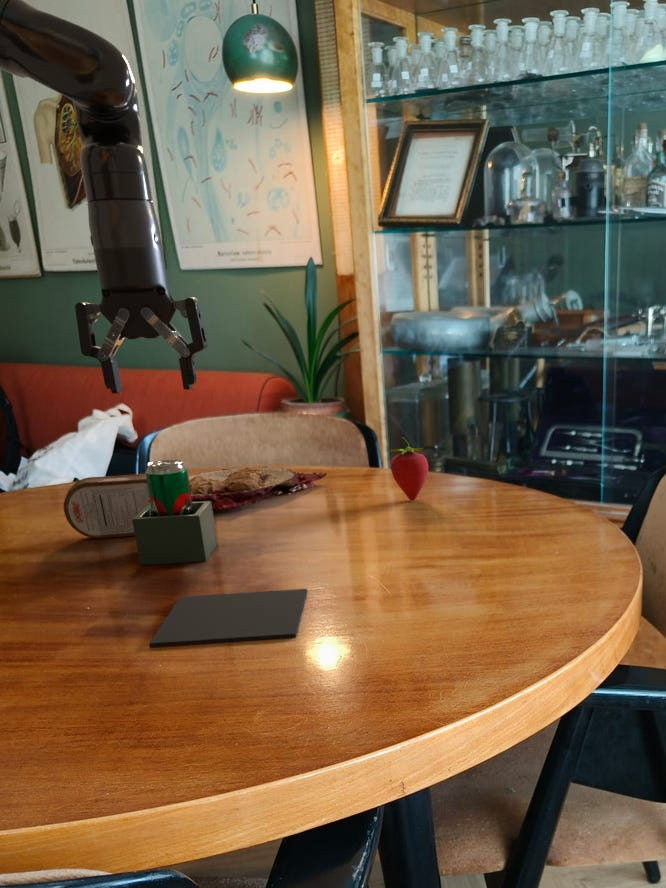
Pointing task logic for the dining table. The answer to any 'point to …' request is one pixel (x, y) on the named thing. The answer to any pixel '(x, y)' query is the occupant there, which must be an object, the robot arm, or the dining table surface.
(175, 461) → the soda can
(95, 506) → the tin
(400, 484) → the strawberry
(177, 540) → the box
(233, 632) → the mat
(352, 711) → the dining table surface
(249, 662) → the dining table surface
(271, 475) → the plate with food
